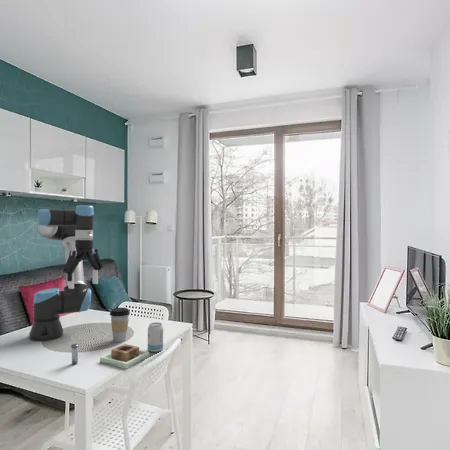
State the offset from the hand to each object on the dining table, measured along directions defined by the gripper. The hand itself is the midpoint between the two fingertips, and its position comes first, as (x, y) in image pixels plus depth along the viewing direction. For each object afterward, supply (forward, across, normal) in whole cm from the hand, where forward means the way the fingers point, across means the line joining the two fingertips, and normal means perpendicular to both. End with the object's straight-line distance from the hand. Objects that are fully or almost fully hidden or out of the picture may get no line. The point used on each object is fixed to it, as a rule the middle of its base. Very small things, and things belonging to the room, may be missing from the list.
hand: (83, 286), depth 156 cm
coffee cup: (+29, +17, -6) cm, 34 cm away
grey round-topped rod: (+29, -13, -10) cm, 33 cm away
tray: (+29, 0, -25) cm, 38 cm away
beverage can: (+29, +14, -30) cm, 44 cm away
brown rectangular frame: (+28, 0, -25) cm, 38 cm away
